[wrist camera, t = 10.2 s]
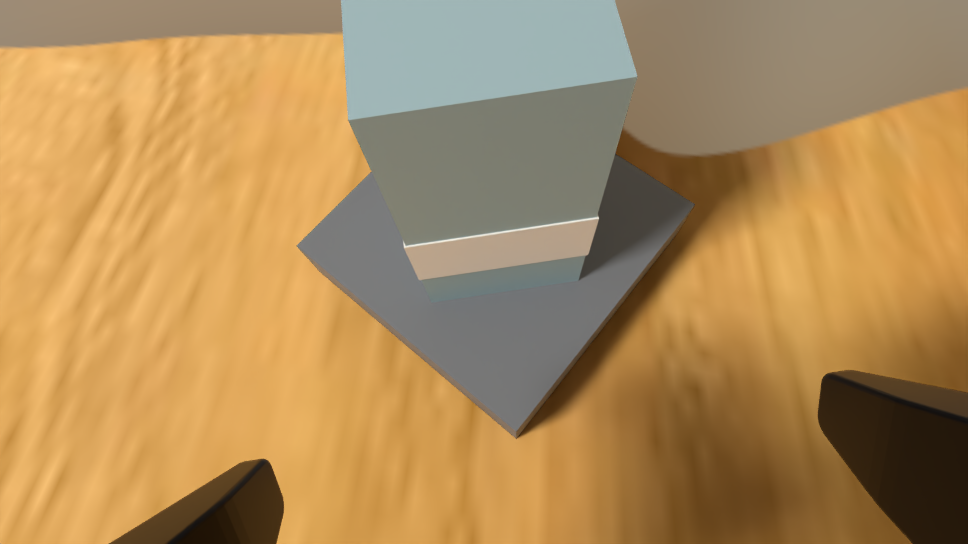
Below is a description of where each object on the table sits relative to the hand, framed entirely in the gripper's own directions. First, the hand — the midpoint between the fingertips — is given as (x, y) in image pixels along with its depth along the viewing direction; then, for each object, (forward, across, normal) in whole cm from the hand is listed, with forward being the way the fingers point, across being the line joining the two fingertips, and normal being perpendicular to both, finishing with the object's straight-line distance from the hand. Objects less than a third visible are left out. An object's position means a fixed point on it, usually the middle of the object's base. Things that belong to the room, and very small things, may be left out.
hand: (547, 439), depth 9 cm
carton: (+12, 0, 0) cm, 12 cm away
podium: (+13, 0, -2) cm, 14 cm away
